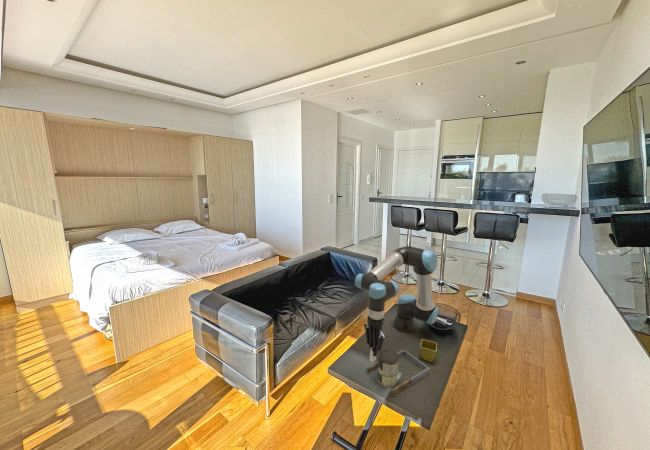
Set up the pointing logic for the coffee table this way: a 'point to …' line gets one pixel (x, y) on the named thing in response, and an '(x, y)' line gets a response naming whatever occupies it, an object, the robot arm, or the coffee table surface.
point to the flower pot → (428, 350)
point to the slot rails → (396, 389)
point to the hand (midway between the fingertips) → (372, 360)
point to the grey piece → (425, 368)
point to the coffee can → (388, 367)
